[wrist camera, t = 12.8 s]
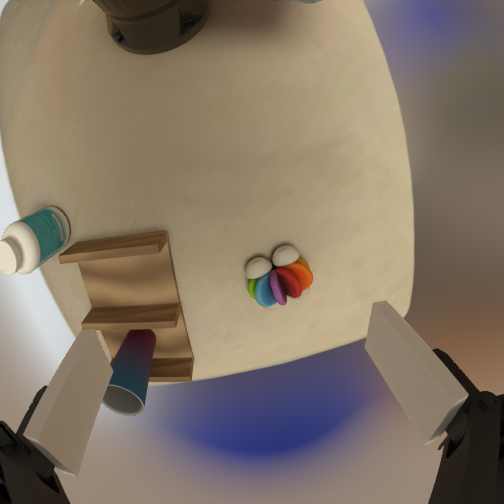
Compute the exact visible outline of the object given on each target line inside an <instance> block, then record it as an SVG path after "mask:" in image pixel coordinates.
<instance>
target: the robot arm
mask: <svg viewBox="0 0 504 504" xmlns="http://www.w3.org/2000/svg"><path fill="white" fill-rule="evenodd" d="M93 1H94V2H95V3H96V4H97V5H98V6H99V7H100V8H101V9H102V10H103V11H104V12H105V13H106V18H107V25H108V31H109V33H110V35H111V37H112V38H113V40H114V41H115V42H116V43H117V44H118V45H120V46H121V47H122V48H123V49H125V50H127V51H129V52H132V53H137V54H156V53H161V52H165V51H168V50H171V49H173V48H176V47H178V46H180V45H182V44H183V43H185V42H187V41H188V40H190V39H191V38H192V37H193V36H195V35H196V34H197V33H198V32H199V31H200V30H201V28H202V27H203V26H204V24H205V23H206V21H207V19H208V16H209V13H210V0H93ZM289 1H295V2H301V3H315V2H318V1H321V0H289ZM365 349H366V351H367V352H368V354H369V355H370V357H371V359H372V360H373V361H374V363H375V365H376V366H377V368H378V370H379V371H380V373H381V374H382V376H383V378H384V379H385V381H386V382H387V384H388V385H389V387H390V389H391V391H392V392H393V394H394V395H395V397H396V398H397V400H398V402H399V404H400V405H401V407H402V409H403V410H404V412H405V414H406V415H407V417H408V419H409V421H410V422H411V424H412V425H413V427H414V429H415V431H416V433H417V434H418V436H419V438H420V440H421V441H422V443H423V445H424V446H425V445H427V444H429V443H431V442H433V441H435V440H437V439H439V438H440V436H441V435H442V434H443V432H444V431H446V432H447V434H448V435H447V437H446V438H445V439H444V441H443V442H442V443H441V444H440V446H439V448H438V450H440V449H441V448H442V447H443V446H444V449H443V454H442V458H441V462H440V466H439V470H438V474H437V477H436V481H435V484H434V487H433V490H432V493H431V497H430V499H429V502H428V504H504V394H502V395H498V396H496V395H494V394H493V393H491V392H488V391H482V392H480V391H479V390H478V389H477V388H476V387H475V386H474V384H473V383H472V382H471V381H470V380H469V379H468V377H467V376H466V375H465V374H464V373H463V372H462V370H461V369H459V367H458V366H457V365H456V363H454V362H453V360H452V359H451V358H450V357H449V356H448V354H446V353H445V352H443V351H441V350H440V349H438V348H436V349H434V350H431V349H430V348H429V346H428V345H427V344H426V343H425V342H424V341H423V340H422V338H421V337H420V336H419V335H418V334H417V333H416V332H415V331H414V330H413V329H412V327H411V326H410V325H409V324H408V323H407V322H406V321H405V320H404V319H403V318H402V317H401V315H400V314H399V313H398V312H397V311H396V310H395V309H394V308H393V307H392V306H391V305H390V304H389V303H388V302H387V301H381V302H376V303H373V305H372V311H371V317H370V322H369V328H368V333H367V338H366V343H365ZM112 374H113V369H112V367H111V365H110V363H109V361H108V359H107V357H106V355H105V352H104V350H103V348H102V346H101V343H100V341H99V339H98V336H97V334H96V331H95V329H82V331H81V332H80V334H79V335H78V337H77V338H76V340H75V341H74V343H73V344H72V346H71V348H70V349H69V351H68V352H67V354H66V356H65V357H64V359H63V361H62V363H61V364H60V366H59V367H58V369H57V371H56V373H55V374H54V376H53V378H52V380H51V381H50V383H49V385H48V386H44V387H43V388H42V389H41V390H39V391H38V392H37V394H36V396H35V397H34V399H33V403H31V405H30V407H29V410H28V411H27V413H26V414H25V416H24V418H23V420H22V422H21V424H20V426H19V428H18V431H17V433H16V434H15V433H14V432H13V431H12V430H11V428H10V427H9V426H8V425H7V424H6V423H5V422H4V421H0V504H70V502H69V500H68V498H67V496H66V494H65V492H64V489H63V487H62V485H61V483H60V480H59V478H58V476H57V474H56V473H55V471H54V468H55V466H56V467H57V468H58V469H59V470H61V471H62V472H63V473H66V474H69V475H72V476H75V477H78V473H79V470H80V466H81V463H82V460H83V456H84V453H85V449H86V446H87V443H88V440H89V437H90V434H91V431H92V428H93V425H94V422H95V419H96V416H97V414H98V411H99V408H100V405H101V402H102V400H103V397H104V394H105V392H106V389H107V387H108V384H109V381H110V379H111V376H112Z"/></svg>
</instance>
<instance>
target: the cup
mask: <svg viewBox="0 0 504 504" xmlns="http://www.w3.org/2000/svg"><path fill="white" fill-rule="evenodd" d="M155 343H156V336H155V334H154V332H153V331H152V330H151V329H136V330H129V332H128V334H127V336H126V337H125V339H124V341H123V343H122V345H121V346H120V348H119V350H118V352H117V354H116V355H115V357H114V359H113V361H112V363H111V367H112V369H113V374H112V376H111V379H110V381H109V384H108V387H107V389H106V392H105V394H104V397H103V400H102V403H103V404H104V405H105V406H106V407H107V408H109V409H110V410H112V411H114V412H116V413H119V414H122V415H126V416H136V415H139V414H141V413H142V412H143V411H144V406H145V398H146V393H147V387H148V381H149V375H150V370H151V364H152V359H153V354H154V348H155Z"/></svg>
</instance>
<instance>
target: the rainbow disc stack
mask: <svg viewBox="0 0 504 504" xmlns="http://www.w3.org/2000/svg"><path fill="white" fill-rule="evenodd" d="M272 261H273V264H274V265H275V266H277V269H276V270H271V269H272V263H271V262H270V261H268V260H267V259H265V258H261V257H258V258H254V259H253V260H251V261H250V262H249V263H248V264H247V266H246V276H247V278H249V279H250V281H249V284H248V291H249V293H250V295H251V297H253V298H254V299H256V300H257V302H258V303H259V304H260V305H261V306H263V307H264V308H266V309H268V310H276V309H279V308H280V307H282V305H285V304H286V302H287V296H288V297H289V298H291V299H295V300H298V299H302V298H304V297H305V296H306V295H307V294H308V292H309V290H310V285H311V284H312V281H313V274H312V272H311V271H310V269H309V265H308V264H307V262H306V261H305V260H303V259H302V258H299V252H298V251H297V249H295V248H294V247H292V246H289V245H285V246H281V247H279V248H278V249H277V250H276V251H275V252H274V254H273V259H272Z"/></svg>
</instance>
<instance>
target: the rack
mask: <svg viewBox="0 0 504 504" xmlns="http://www.w3.org/2000/svg"><path fill="white" fill-rule="evenodd" d="M58 258H59V261H60V264H64V263H73V262H78V264H79V268H80V271H81V275H82V278H83V281H84V284H85V288H86V291H87V294H88V297H89V300H90V303H91V306H92V309H91V310H90V312H89V313H88V314H87V316H86V317H85V319H84V320H83V321H82V323H81V325H82V327H83V329H95V330H101V332H102V335H103V337H104V340H105V342H106V344H107V347H108V349H109V351H110V354H111V356H112V360H111V363H112V361H113V359H114V357H115V355H116V354H117V352H118V350H119V348H120V346H121V345H122V343H123V341H124V339H125V337H126V336H127V334H128V332H129V330H136V329H151V330H152V331H153V332H154V334H155V336H156V343H155V348H154V354H153V359H152V364H151V370H150V375H149V381H148V382H190V381H192V371H193V362H194V357H193V353H192V349H191V345H190V341H189V337H188V333H187V329H186V325H185V320H184V316H183V311H182V307H181V302H180V298H179V293H178V288H177V283H176V278H175V273H174V268H173V262H172V257H171V251H170V245H169V239H168V233H167V231H162V232H154V233H145V234H137V235H129V236H121V237H114V238H106V239H99V240H91V241H84V242H77V243H75V244H74V245H72V246H71V247H70V248H68V249H67V250H66V251H64V252H63V253H62V254H60V255H59V256H58ZM111 363H110V365H111Z"/></svg>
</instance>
